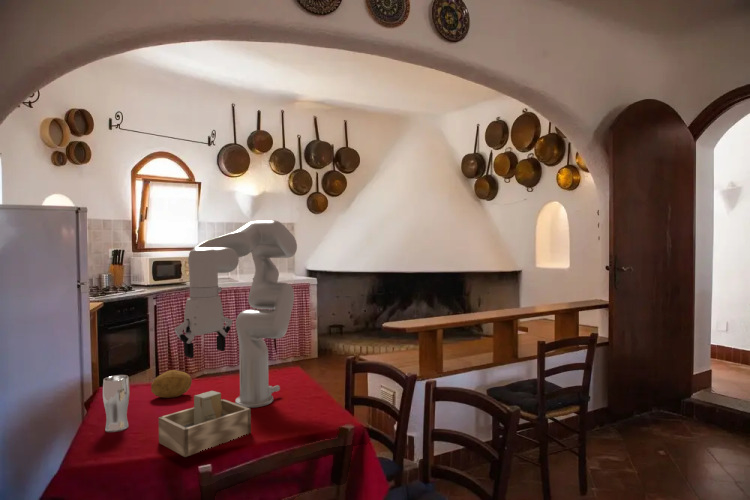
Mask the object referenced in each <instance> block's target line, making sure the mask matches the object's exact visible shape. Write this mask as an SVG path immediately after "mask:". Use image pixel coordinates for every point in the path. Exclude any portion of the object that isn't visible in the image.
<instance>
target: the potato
mask: <svg viewBox="0 0 750 500" xmlns="http://www.w3.org/2000/svg"><path fill="white" fill-rule="evenodd" d="M192 383H193V380H192V377H191V376H190V374H188V373H187V372H185V371H181V370H176V369H171V370H167V371H165V372H163V373H161V374H160V375H157V376H156V377H155V378H154V379H153V381H152V383H151V384H150V386H151V392H152V394H154V395H155V396H156V397H158V398H159V397H160V398H166V399H167V398H170V399H172V398H177V397H179V396H183V395H184V394H186V393H187V392H188V391H189V389H190V388H191V386H192Z"/></svg>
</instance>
